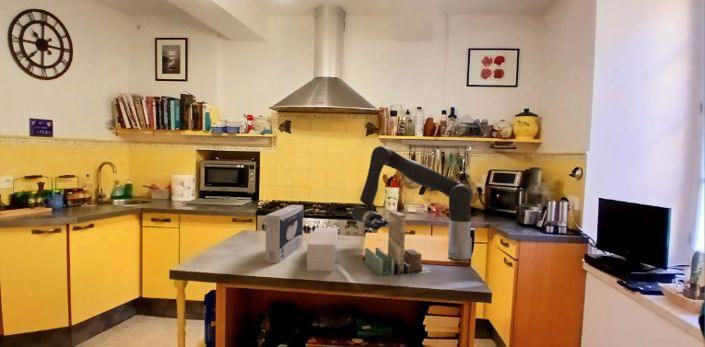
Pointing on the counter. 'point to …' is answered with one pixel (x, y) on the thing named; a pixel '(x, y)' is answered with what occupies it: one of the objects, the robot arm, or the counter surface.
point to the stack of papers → (322, 249)
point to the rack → (387, 264)
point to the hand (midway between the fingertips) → (386, 227)
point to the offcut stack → (413, 259)
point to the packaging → (283, 232)
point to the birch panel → (396, 238)
